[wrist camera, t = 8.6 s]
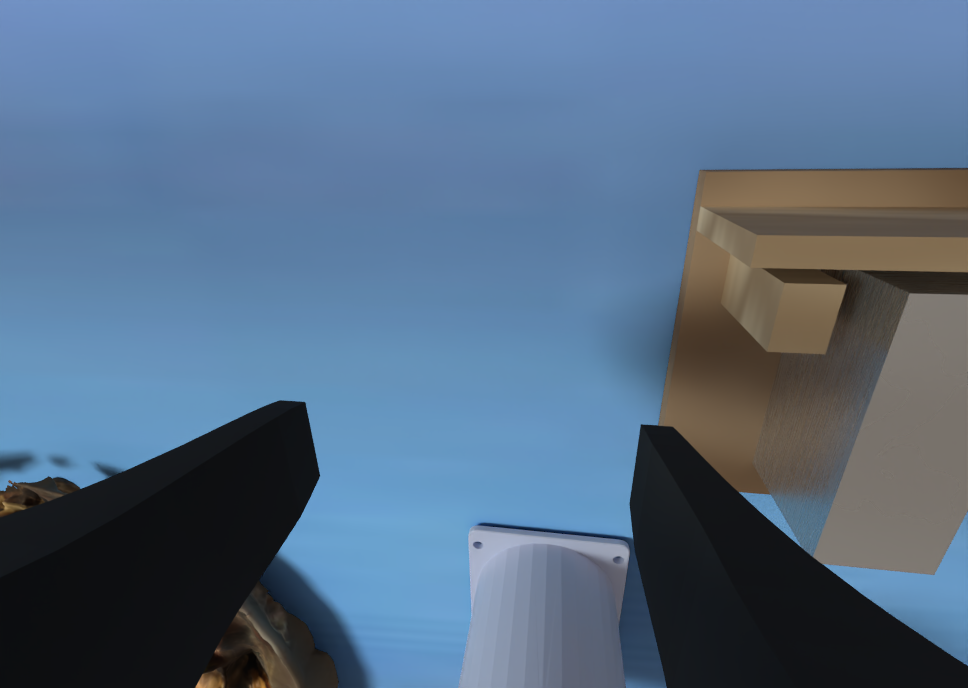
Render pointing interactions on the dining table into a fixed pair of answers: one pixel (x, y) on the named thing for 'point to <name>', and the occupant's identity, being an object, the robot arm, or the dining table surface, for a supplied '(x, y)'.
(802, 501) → the gray rectangular block
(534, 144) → the dining table surface
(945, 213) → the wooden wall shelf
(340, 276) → the dining table surface
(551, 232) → the dining table surface
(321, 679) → the food dish
